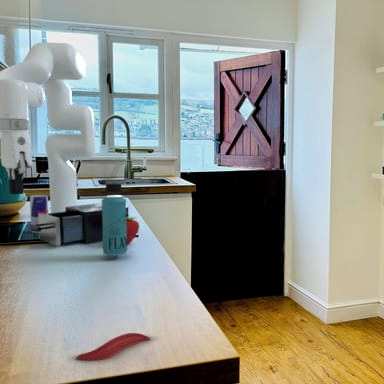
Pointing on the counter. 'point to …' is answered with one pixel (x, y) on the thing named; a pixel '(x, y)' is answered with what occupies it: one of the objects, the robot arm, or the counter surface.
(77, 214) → the drawer
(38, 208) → the energy drink
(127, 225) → the strawberry
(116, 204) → the beverage bottle
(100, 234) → the cabinet
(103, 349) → the cayenne pepper
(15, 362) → the counter surface
